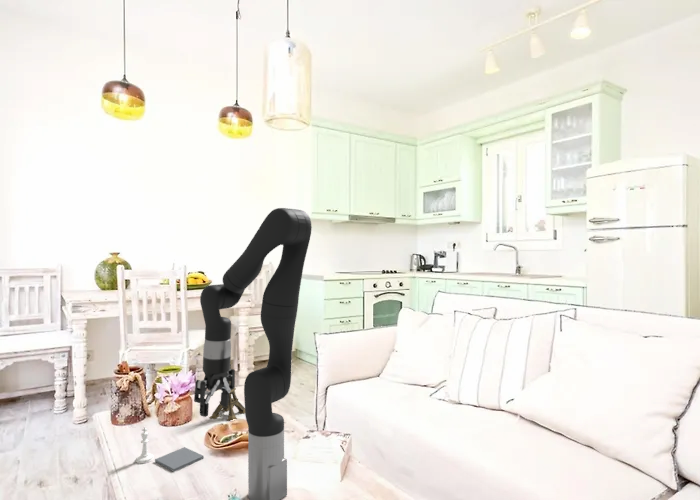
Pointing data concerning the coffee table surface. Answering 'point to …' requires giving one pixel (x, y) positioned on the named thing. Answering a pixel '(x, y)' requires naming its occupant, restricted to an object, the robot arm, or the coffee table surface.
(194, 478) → the coffee table surface
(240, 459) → the coffee table surface
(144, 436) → the chess piece
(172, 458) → the slate tile
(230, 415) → the eiffel tower
